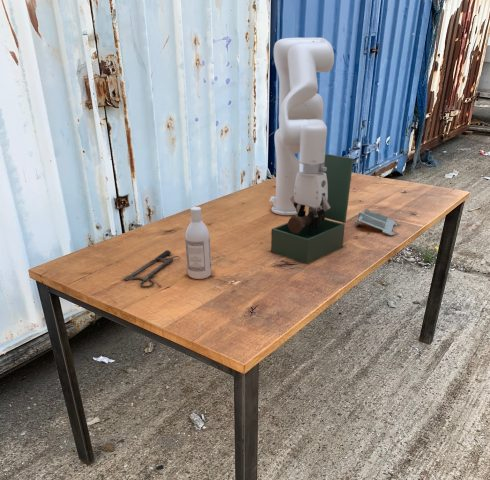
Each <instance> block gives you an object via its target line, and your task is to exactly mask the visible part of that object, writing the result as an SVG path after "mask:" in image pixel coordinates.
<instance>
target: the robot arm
mask: <svg viewBox="0 0 490 480" xmlns="http://www.w3.org/2000/svg"><path fill="white" fill-rule="evenodd" d="M273 61H274V65H275V69H276V71H277V72H276V73H277V75H278V85H279V86H278V87H279V88H278V91H279V92H278V93H279V94H278V125H279V126H278V129H276V130H275V132H274V138H273V139H274V147H275V165H276V166H275V168H276V169H275V170H276V171H275V196H274V195H272V196H270V199H269V200H268V201H269V203H272V204H273V205H272V207H271V211H272V213H274V214H276V215H280V216H298V217H304V216H306V210H305V209H306V207H308V208H309V207H313V211H314V216H315V217H313V222H312V229H314V230H315V229H317V228H319V227H320V222H321V216H322V215H323V214H324V213H325V212H326V211H327V210H329V209H330V205H329V203H328V202H327V200H328V184H327V176H326V173H324V171H327V167H325V154H326V147H327V135H328V127H327V125H326V123H325V122H324V107H325V106H324V100H323V99H324V98H323V97H322V95H321V94H319V93H318V91H319V84H318V75H317V73H328V72H331V70H332V69H333V67H334V64H335V52H334V49H333V45H332V44H331V43H330V41H328V40H327V39H326V38H324V37H284V38H280V39H278V40H277V41H276V42H274V46H273ZM296 154H299V158H297V156H296ZM321 205H323V206H324V207H323V208H322V206H321ZM317 209H318V210H317Z"/></svg>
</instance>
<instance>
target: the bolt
mask: <svg viewBox="0 0 490 480" xmlns="http://www.w3.org/2000/svg"><path fill="white" fill-rule="evenodd" d="M313 217H315V216H314V211H313V210H312V211H310V212H309V214H308V213H307V215H305V216H304V217H298V215H291V217H289V219H288V221H287V223H288V228H289V230H290V231H291V232H292V233H295V234H300V233H301V232H302V230H303V229H304V227H306V226H309V225H312V222H313ZM324 219H326V218H325V214H323V215H322V216H321V221H322V220H324Z"/></svg>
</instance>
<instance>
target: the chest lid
mask: <svg viewBox="0 0 490 480" xmlns="http://www.w3.org/2000/svg"><path fill="white" fill-rule="evenodd" d="M353 165H354V158H353V157H346V156H341V155H336V154H330V153H325V167H327V171H324V173H326V176H327V184H328V200H327V202H328V203H329V205H330V209H329V210H327V211H326V212H325V213H324V214H325V219H327V220H330V221H334V222H338V223H342V224H346V222H347V214H348V207H349V198H350V190H351V181H352V174H353V167H354V166H353ZM321 206H322V208H323V207H324V206H323V205H321ZM312 210H313V207H309V206H308V211H307V215H308V214H309V212H310V211H312ZM317 210H318V209H317Z"/></svg>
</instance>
